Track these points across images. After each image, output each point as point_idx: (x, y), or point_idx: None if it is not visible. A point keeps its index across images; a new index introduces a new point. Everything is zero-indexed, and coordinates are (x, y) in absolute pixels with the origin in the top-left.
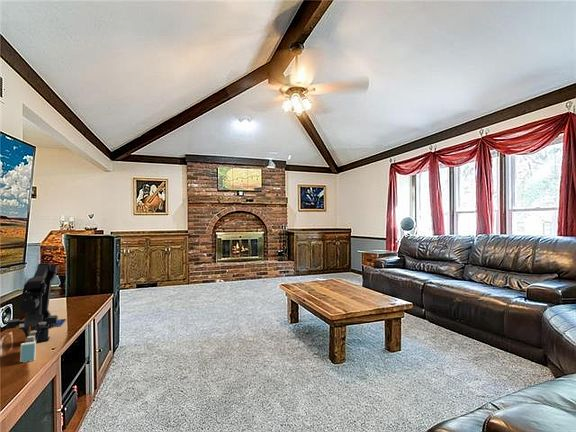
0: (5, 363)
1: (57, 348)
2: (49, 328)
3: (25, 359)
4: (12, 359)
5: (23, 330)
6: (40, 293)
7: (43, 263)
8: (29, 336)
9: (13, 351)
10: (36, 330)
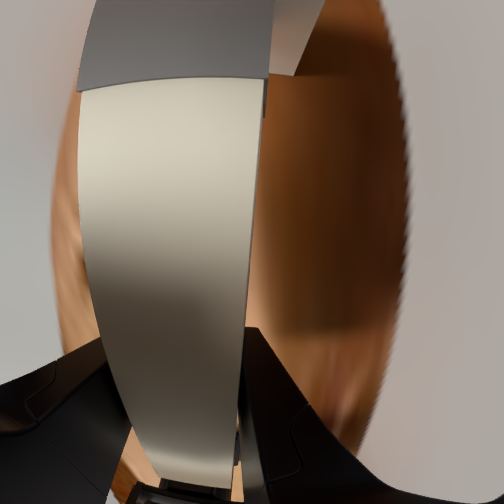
0: (399, 103)
1: (67, 264)
2: (142, 484)
3: None
4: (362, 171)
5: (381, 490)
6: None
7: None
8: (196, 222)
9: (345, 359)
10: (171, 479)
